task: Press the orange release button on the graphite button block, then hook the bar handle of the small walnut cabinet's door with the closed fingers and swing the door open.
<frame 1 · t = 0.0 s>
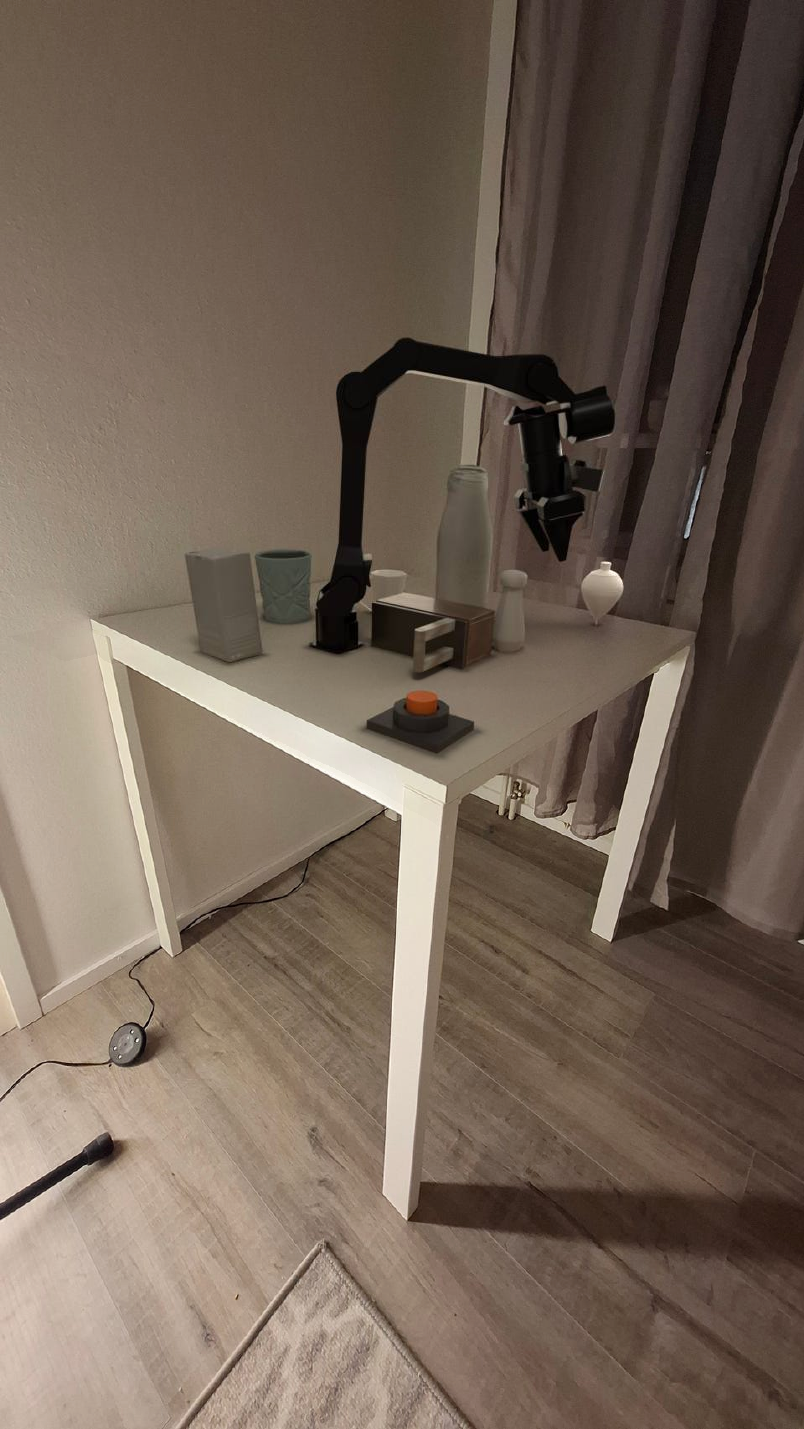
hand: (553, 555, 98), 15 cm above the table, tool pointing down, fingers open, 9 cm apart
glass bottle: (458, 620, 120), on the table
button block: (420, 730, 73), on the table
spinning top: (595, 625, 119), on the table
cabinet: (431, 650, 101), on the table
door: (400, 640, 93), point 4 cm above the table, hinge at 0.0°
cosmetic box: (228, 655, 96), on the table
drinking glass: (286, 618, 117), on the table
salt shaker: (506, 650, 103), on the table
cup: (380, 614, 122), on the table
release button: (421, 702, 72), point 3 cm above the table, slide at 0.1 cm
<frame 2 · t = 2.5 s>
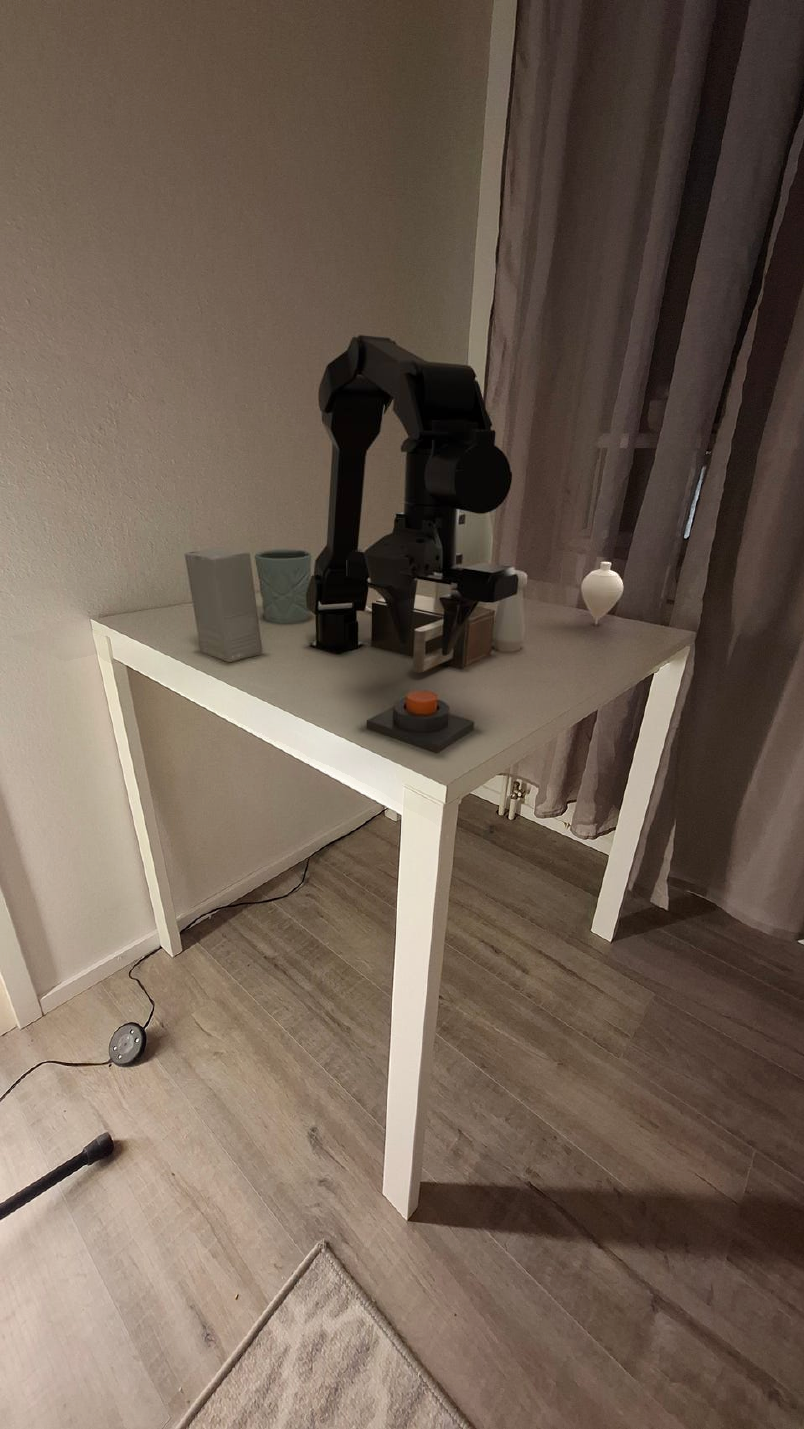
hand: (424, 649, 69), 10 cm above the table, tool pointing down, fingers open, 5 cm apart
nothing on the table moved.
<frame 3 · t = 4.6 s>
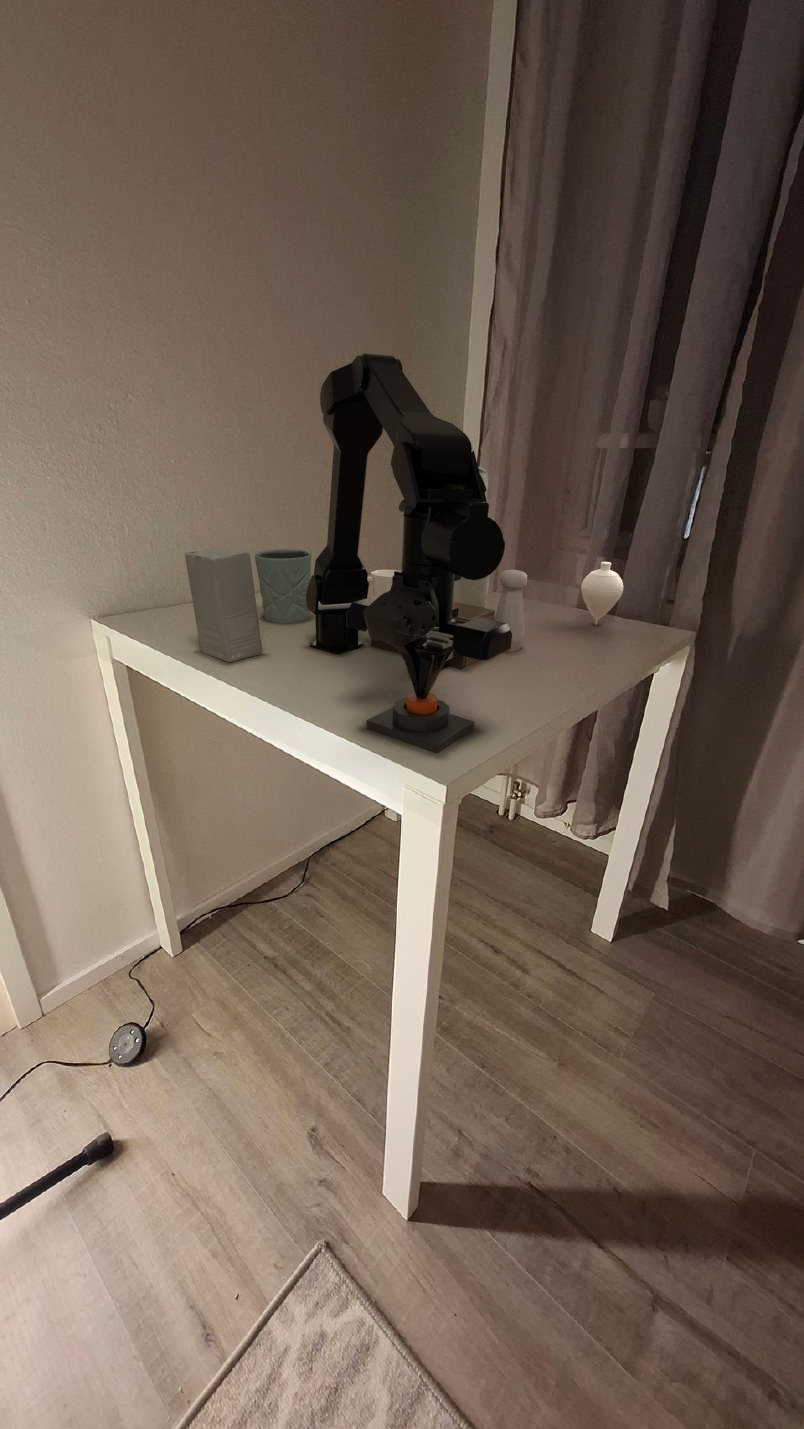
hand: (421, 697, 71), 4 cm above the table, tool pointing down, fingers closed, pressing on release button
release button: (421, 704, 72), point 3 cm above the table, slide at -0.1 cm, touching gripper
everything else where it was.
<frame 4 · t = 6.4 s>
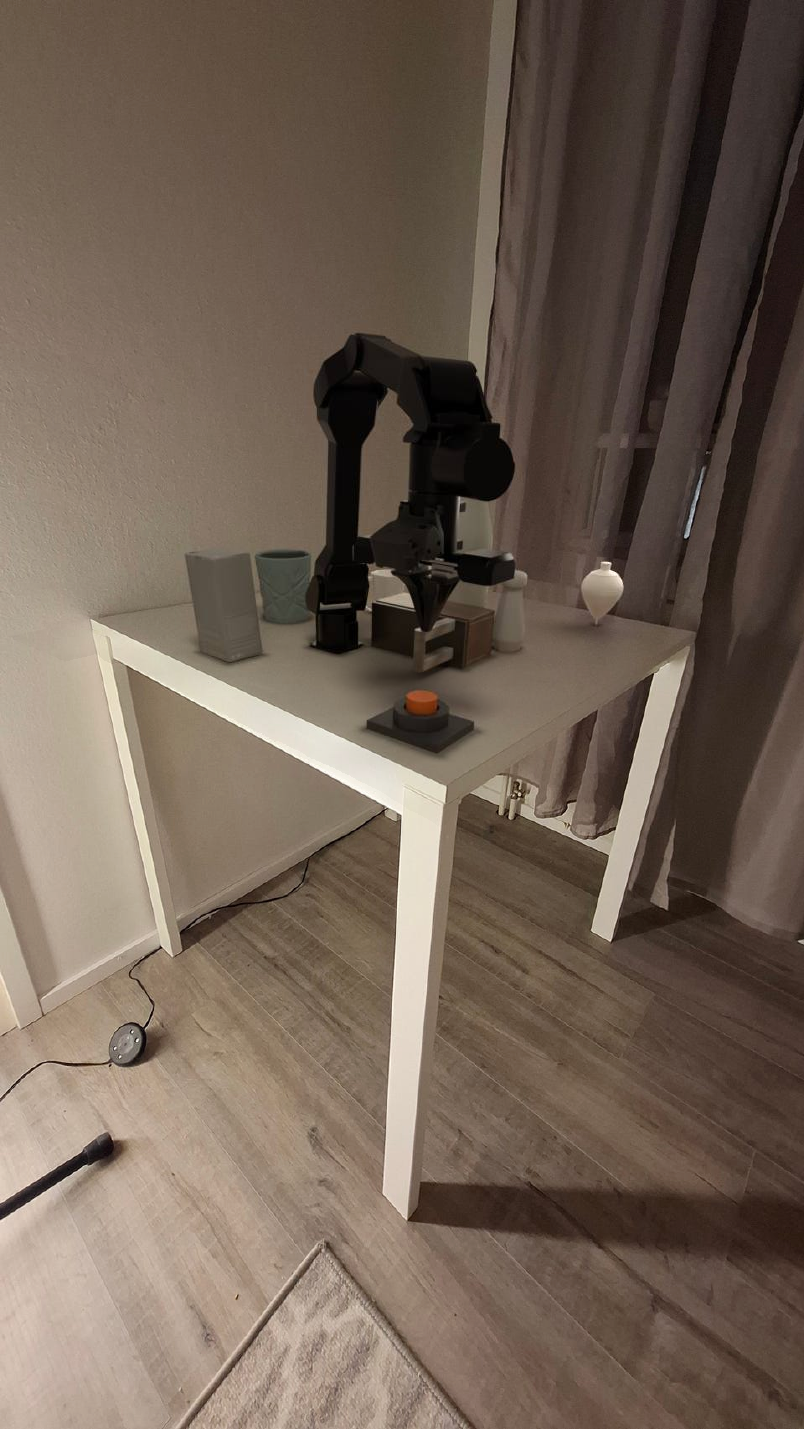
hand: (426, 631, 73), 11 cm above the table, tool pointing down, fingers closed
release button: (421, 702, 72), point 3 cm above the table, slide at 0.1 cm
everything else where it was.
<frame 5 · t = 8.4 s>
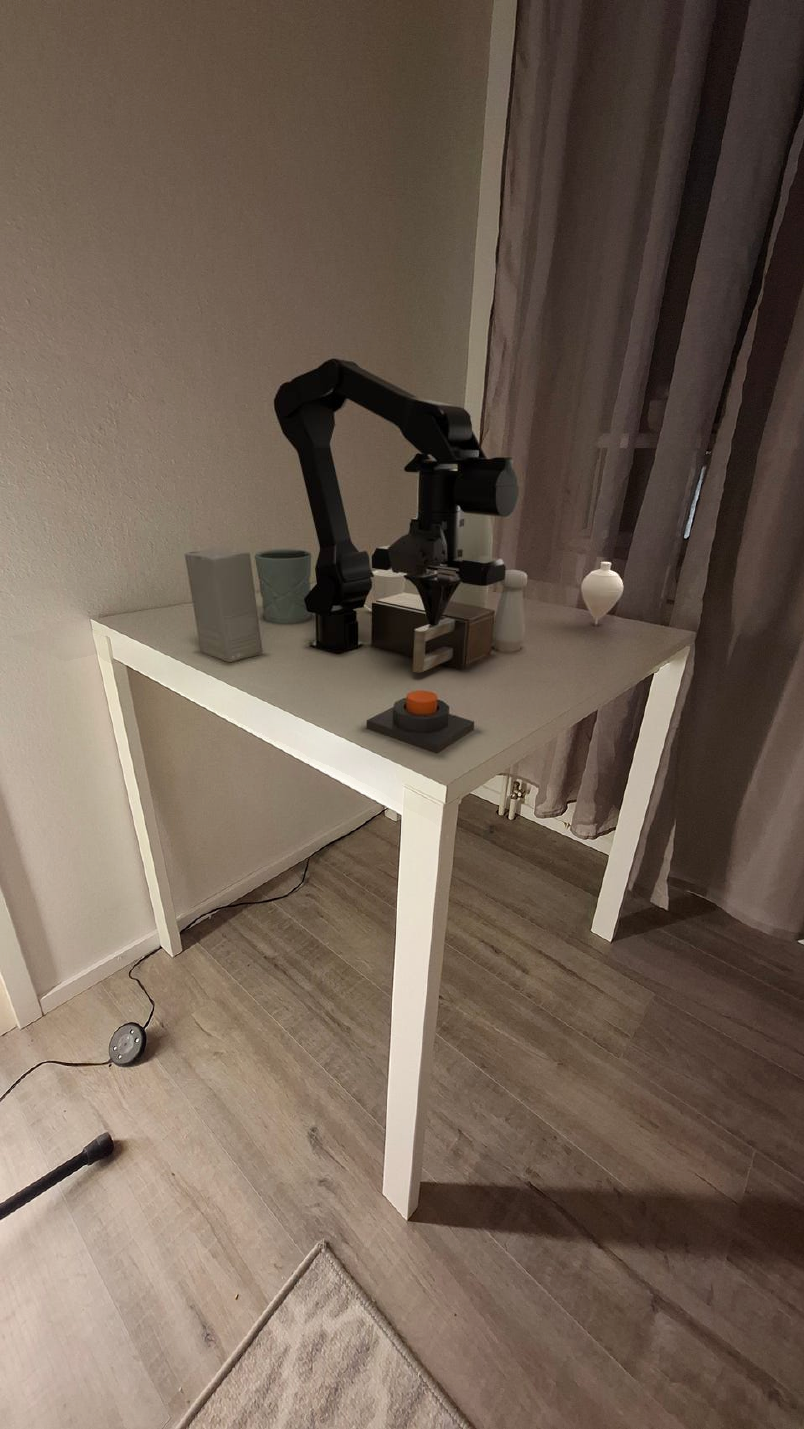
hand: (433, 624, 88), 7 cm above the table, tool pointing down, fingers closed, pressing on door
door: (400, 640, 93), point 4 cm above the table, hinge at 0.1°, touching gripper
everything else where it was.
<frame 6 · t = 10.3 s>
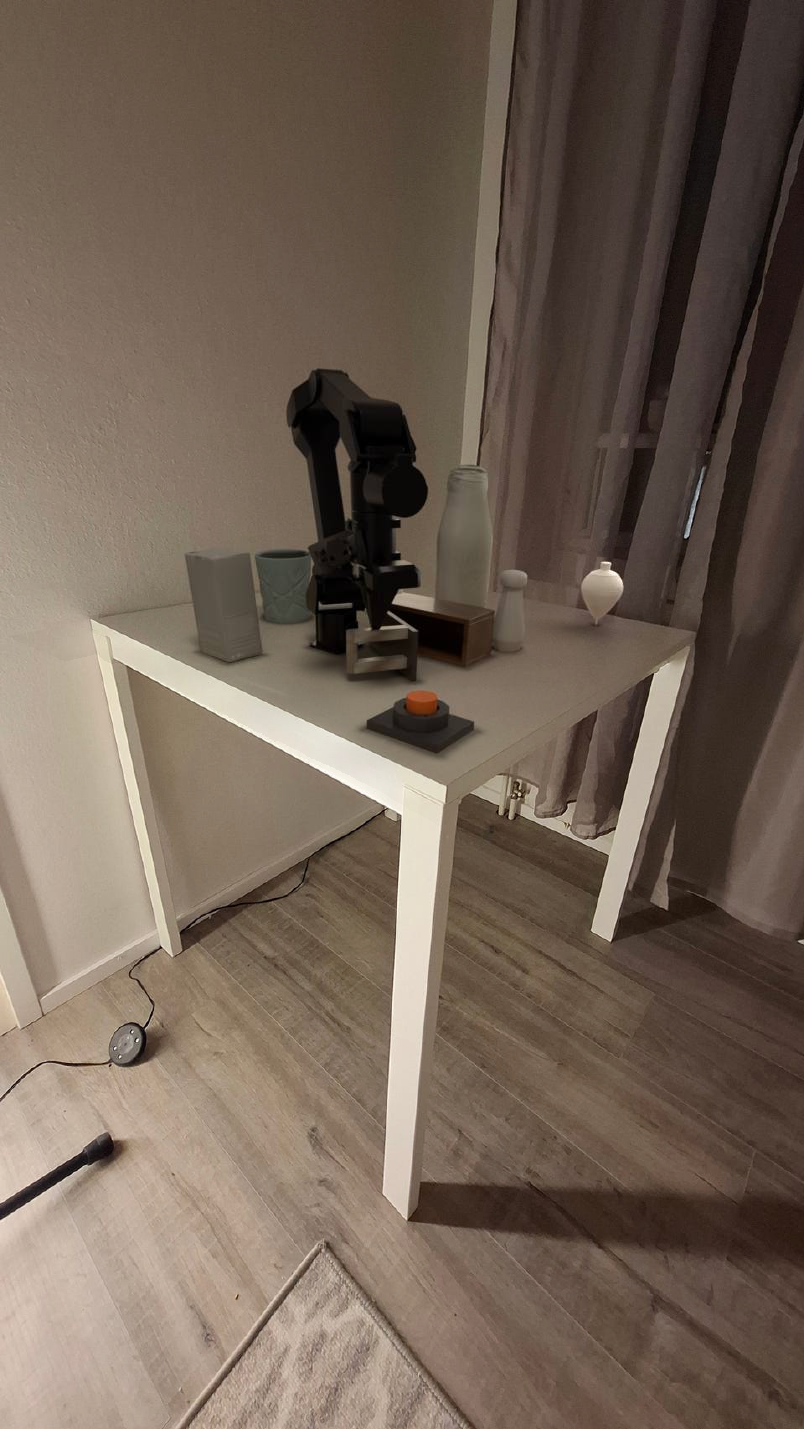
hand: (375, 628, 85), 7 cm above the table, tool pointing down, fingers closed, pressing on door
door: (364, 640, 92), point 4 cm above the table, hinge at 31.9°, touching gripper
everything else where it was.
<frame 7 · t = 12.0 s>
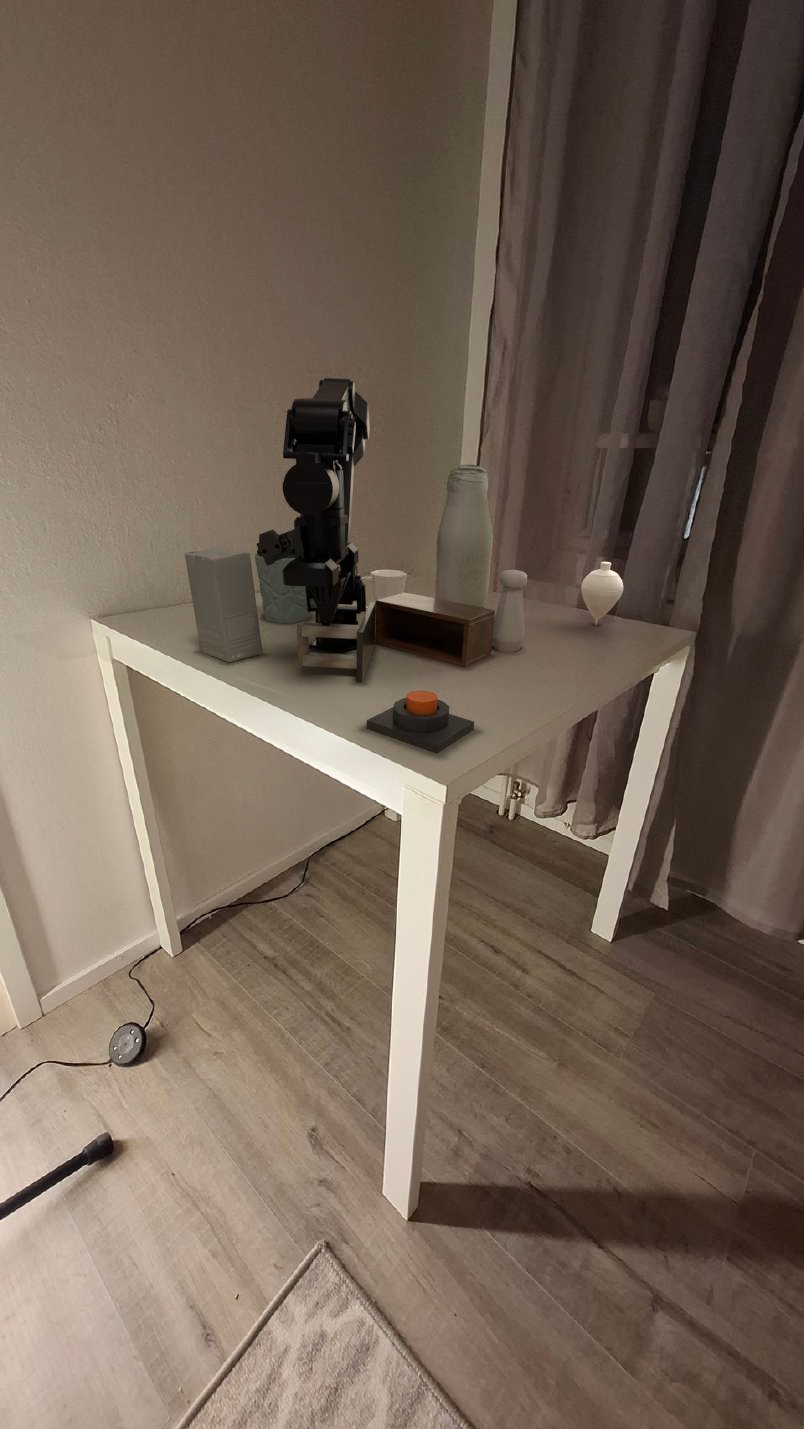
hand: (326, 625, 86), 7 cm above the table, tool pointing down, fingers closed, pressing on door
door: (337, 637, 93), point 4 cm above the table, hinge at 57.3°, touching gripper
everything else where it was.
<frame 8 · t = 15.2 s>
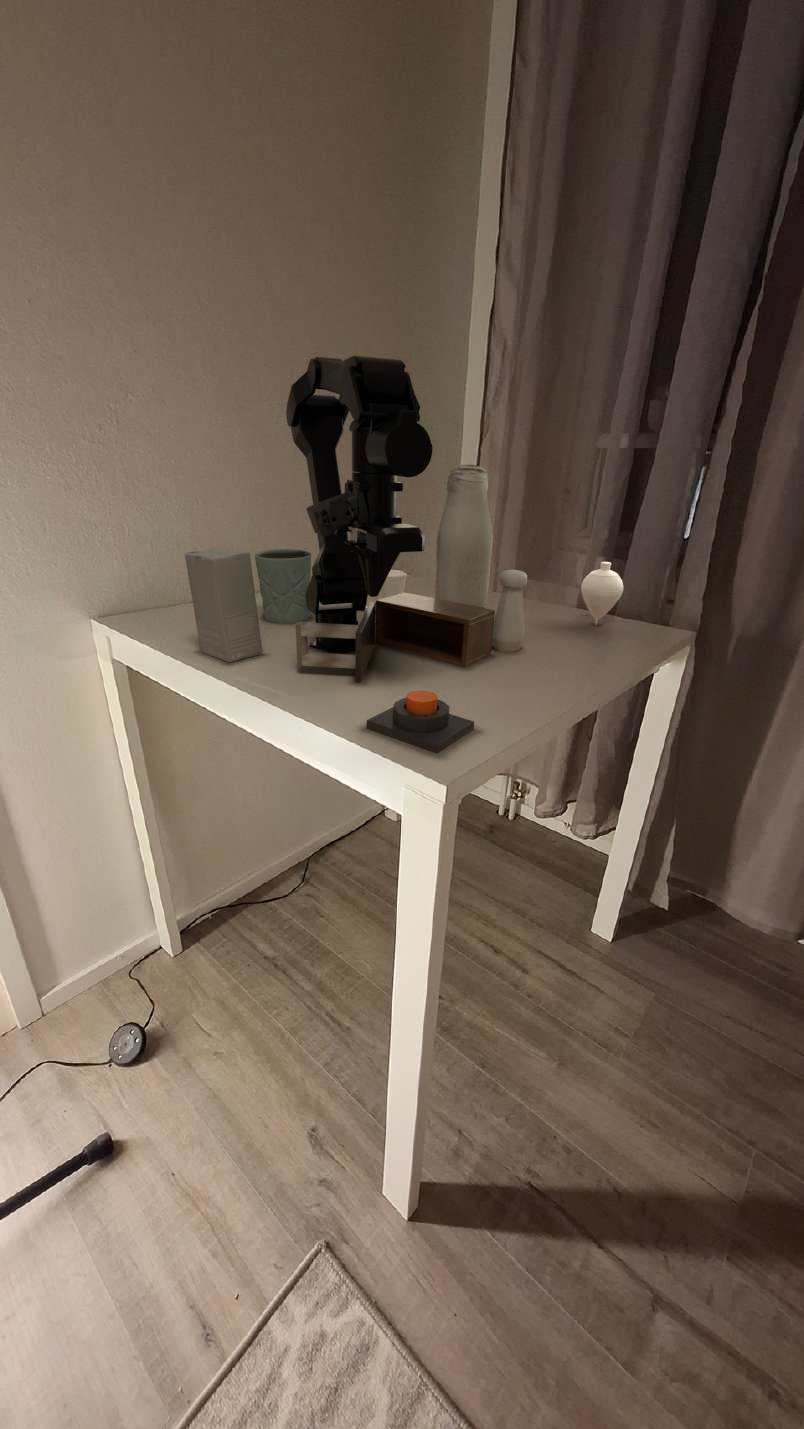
hand: (372, 596, 83), 12 cm above the table, tool pointing down, fingers closed
door: (337, 637, 93), point 4 cm above the table, hinge at 57.8°
everything else where it was.
at the end: release button pushed in 1.1 cm at the most during the clip, back to where it started at the end; release button slide at 0.1 cm; door at +58° (first picture: +0°) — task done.
